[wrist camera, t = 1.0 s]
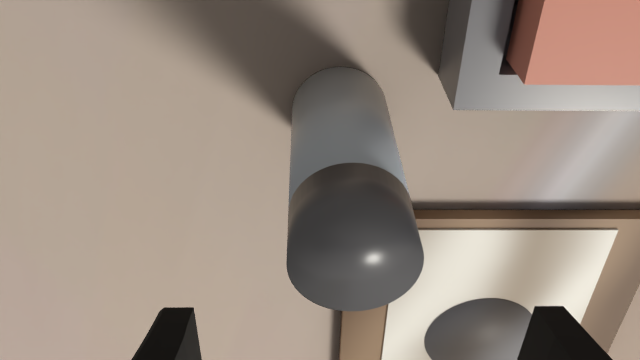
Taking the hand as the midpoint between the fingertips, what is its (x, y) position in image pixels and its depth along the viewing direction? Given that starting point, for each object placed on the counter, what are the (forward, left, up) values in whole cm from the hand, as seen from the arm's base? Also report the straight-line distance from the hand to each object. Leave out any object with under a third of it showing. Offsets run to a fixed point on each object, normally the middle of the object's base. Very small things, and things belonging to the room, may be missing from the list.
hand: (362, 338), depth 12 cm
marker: (0, 0, -10) cm, 10 cm away
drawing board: (-7, +11, -10) cm, 17 cm away
